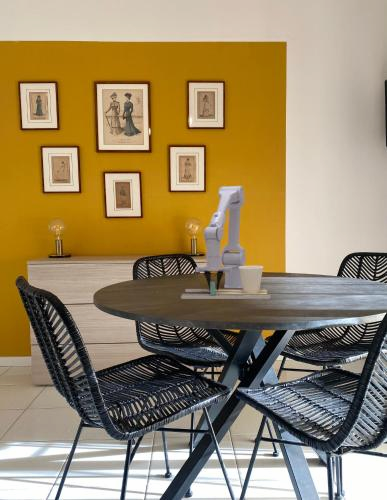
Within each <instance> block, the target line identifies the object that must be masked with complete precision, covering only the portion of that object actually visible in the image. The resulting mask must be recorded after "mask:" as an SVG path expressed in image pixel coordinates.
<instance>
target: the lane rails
mask: <svg viewBox="0 0 387 500" xmlns="http://www.w3.org/2000/svg"><path fill="white" fill-rule="evenodd" d="M184 290H185V291H184V292H185V293H181V295H180V298H181V300H193V299H195V300H196V299H197V300H199V299H200V300H210V299H211V300H220V299H221V300H226V299H227V300H237V299H238V300H239V299H240V300H242V299H243V300H247V299H248V300H253V299H254V300H271V298H272V297H271V294H270V293H269V289H268V288H260V290H266V291H267V294H215V290H217V288H216V282H214V283H211V294H210V290H209V288H185V289H184ZM219 290H243V288H219Z"/></svg>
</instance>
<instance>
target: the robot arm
mask: <svg viewBox="0 0 387 500" xmlns="http://www.w3.org/2000/svg"><path fill="white" fill-rule="evenodd" d="M218 198H219V202H218V206H217V211H216V212H214V213H213V214H212V217H211V219H210V222H209V225H208V226H207V227H205V228H204V230H203V235H202V236H203V239H204V244H205V247H206V250H205V251H206V255H205V257H206V266H195V273H203V275H204V277H205V280H206V282H207V285H208V289H209V290H210V280H212V279H211V277H212V276H211V275H212V273H216V289H217V290H219V289H220V288H219V287H220V283H221V281H222V278H223V274H225V275H224V285H223V286H224V287H223V289H243V286H242V281H241V276H240V270H239V267H241V266H245V264H246V260H247V258H246V250H245V248H244V247H242V245H240V230H241V229H240V228H241V227H240V226H241V209H242V207H243V206H244V205H245V190H244V187H243V186H242V185H235V186H231V185H230V186H222V185H221V187H220V188H219V189H218ZM227 212H228V229H227V231H228V232H227V245H225V246H224V247H223V248H222V250H221V242H222V240H223V237H224V227H225V223H226V221H227V216H226V214H227ZM221 251H222V252H221Z"/></svg>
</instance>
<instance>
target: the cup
mask: <svg viewBox="0 0 387 500" xmlns="http://www.w3.org/2000/svg"><path fill="white" fill-rule="evenodd" d="M263 269H264V266H262V265H244V266H241V267H239V270H240V276H241V281H242V286H243V288H242V289H243V292H244V293H259V291H260V289H261V282H262V276H263V271H264V270H263Z"/></svg>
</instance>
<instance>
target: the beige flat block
mask: <svg viewBox="0 0 387 500" xmlns="http://www.w3.org/2000/svg"><path fill="white" fill-rule="evenodd" d="M211 283H215V279H211V280H210V292H209V294H211ZM215 294H268V292H267V291H266V290H260V291H259V293H244V292H243V290H215Z"/></svg>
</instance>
